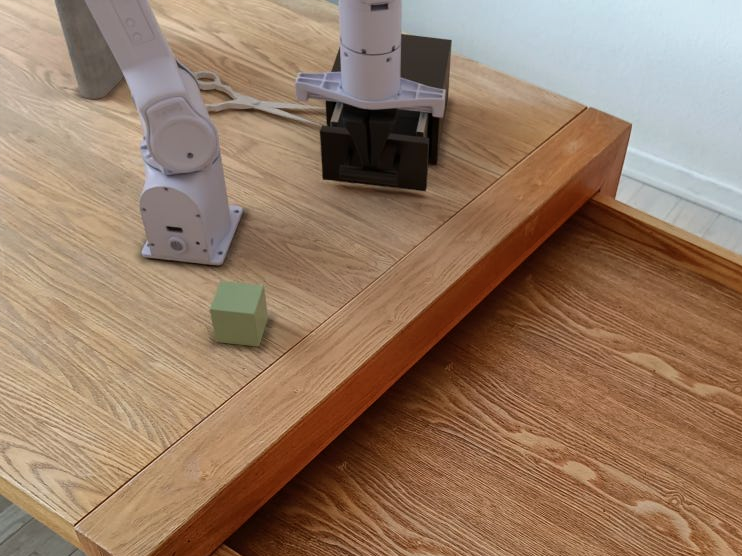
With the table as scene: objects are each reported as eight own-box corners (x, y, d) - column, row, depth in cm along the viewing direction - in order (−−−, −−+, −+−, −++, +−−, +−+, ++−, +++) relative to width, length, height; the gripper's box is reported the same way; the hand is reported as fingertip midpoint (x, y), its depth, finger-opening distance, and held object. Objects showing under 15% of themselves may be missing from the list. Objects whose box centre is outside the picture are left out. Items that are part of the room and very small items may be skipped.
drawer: (421, 215, 94) (423, 166, 90) (315, 202, 94) (311, 153, 89) (437, 126, 105) (440, 79, 101) (342, 115, 105) (340, 67, 100)
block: (259, 347, 81) (254, 314, 78) (215, 342, 81) (209, 309, 78) (268, 318, 84) (264, 284, 81) (226, 313, 84) (220, 280, 80)
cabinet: (436, 165, 102) (440, 102, 96) (328, 152, 102) (324, 89, 96) (448, 100, 111) (451, 39, 105) (348, 88, 111) (346, 26, 105)
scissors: (183, 66, 109) (342, 92, 108) (185, 73, 109) (342, 98, 109) (149, 110, 102) (318, 138, 101) (151, 116, 103) (318, 144, 102)
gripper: (451, 29, 85) (443, 156, 96) (301, 11, 85) (310, 141, 96) (444, 65, 81) (437, 194, 92) (286, 46, 81) (297, 178, 91)
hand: (371, 169), depth 93 cm, fingers closed, pressing on drawer
